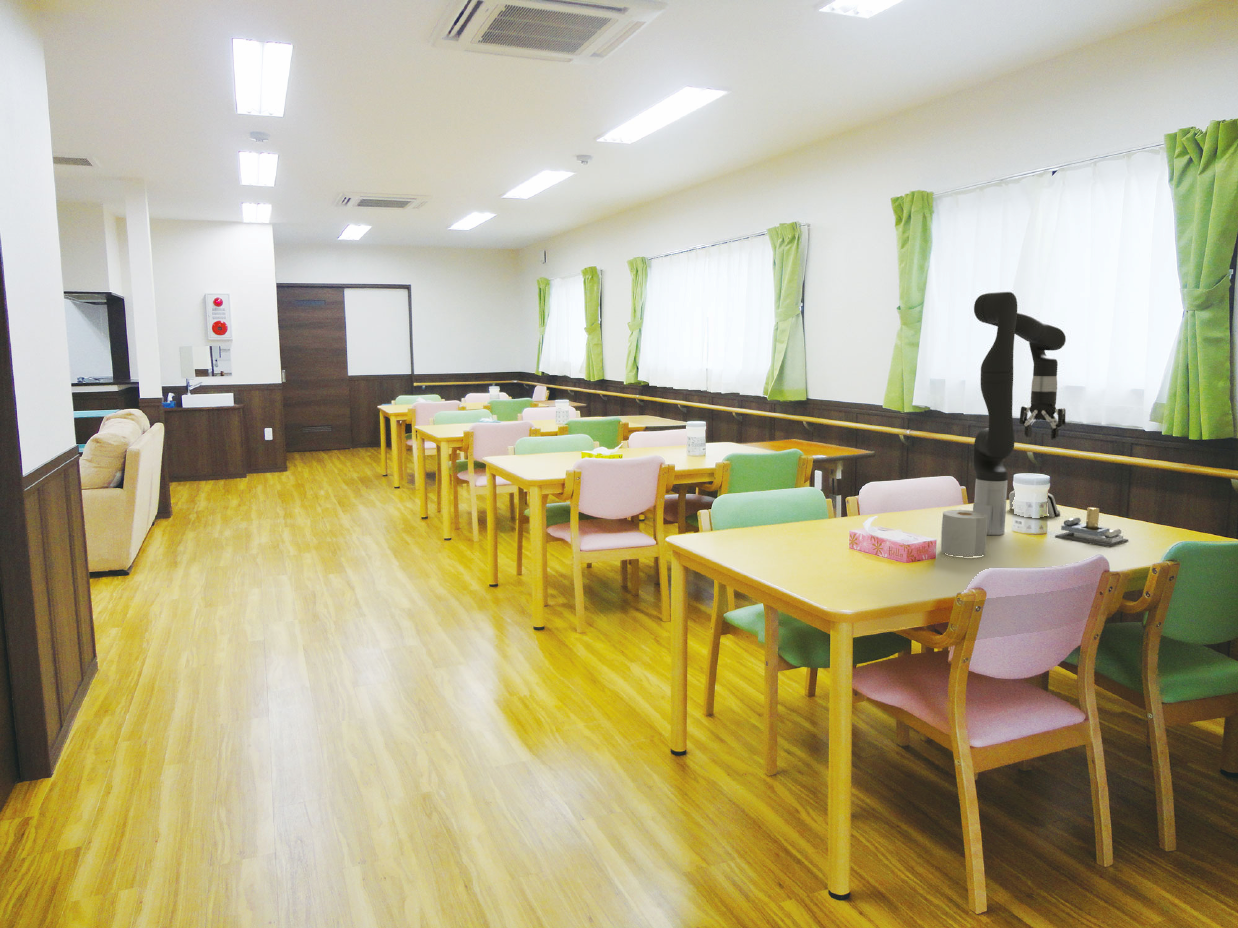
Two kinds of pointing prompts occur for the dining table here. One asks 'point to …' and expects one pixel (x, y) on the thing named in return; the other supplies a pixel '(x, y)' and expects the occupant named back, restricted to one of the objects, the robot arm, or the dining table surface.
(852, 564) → the dining table surface
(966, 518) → the toilet paper roll
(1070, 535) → the rubber mat
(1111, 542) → the grey clamping fixture
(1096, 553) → the dining table surface
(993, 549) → the dining table surface
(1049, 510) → the hinge
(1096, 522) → the brass pin
